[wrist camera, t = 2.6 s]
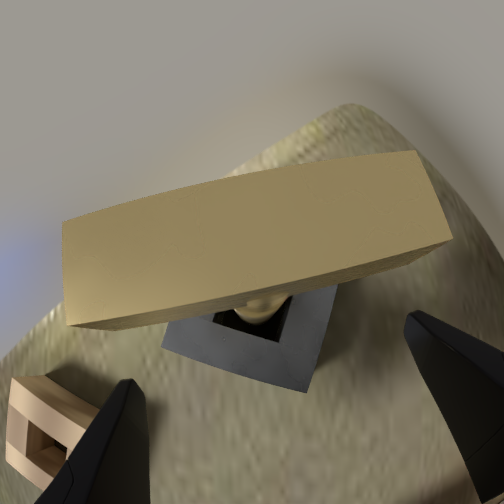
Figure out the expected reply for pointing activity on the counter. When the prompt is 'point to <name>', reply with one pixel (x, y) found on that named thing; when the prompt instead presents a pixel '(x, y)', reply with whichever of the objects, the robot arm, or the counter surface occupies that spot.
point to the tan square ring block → (43, 427)
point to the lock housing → (260, 342)
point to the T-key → (248, 241)
